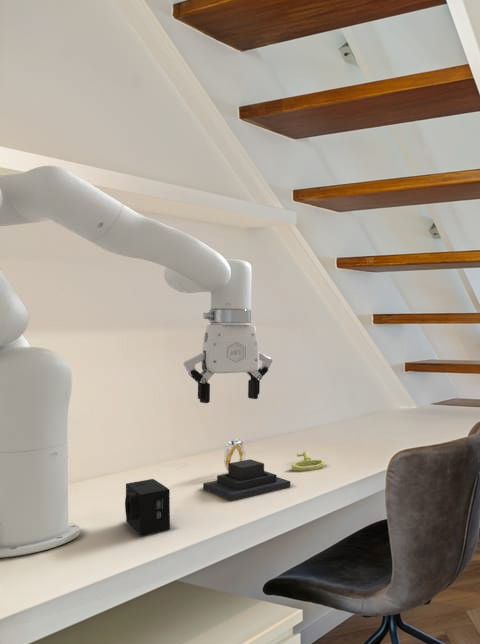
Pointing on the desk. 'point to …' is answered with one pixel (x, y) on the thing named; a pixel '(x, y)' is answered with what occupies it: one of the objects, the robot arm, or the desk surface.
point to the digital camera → (147, 506)
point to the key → (307, 463)
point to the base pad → (245, 486)
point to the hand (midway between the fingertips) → (229, 400)
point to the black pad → (246, 470)
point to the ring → (229, 454)
